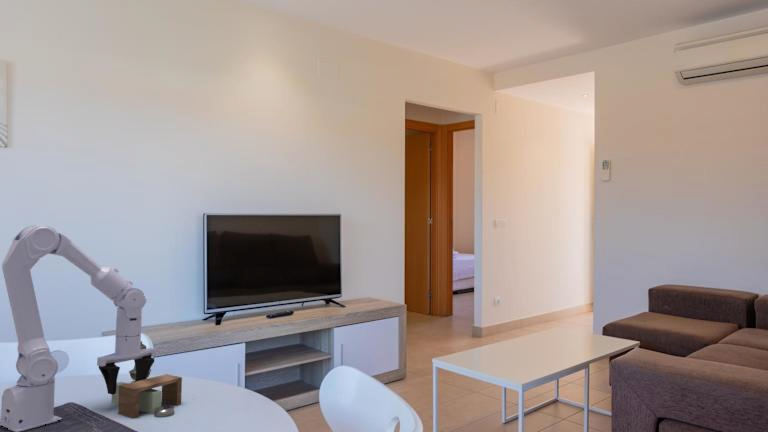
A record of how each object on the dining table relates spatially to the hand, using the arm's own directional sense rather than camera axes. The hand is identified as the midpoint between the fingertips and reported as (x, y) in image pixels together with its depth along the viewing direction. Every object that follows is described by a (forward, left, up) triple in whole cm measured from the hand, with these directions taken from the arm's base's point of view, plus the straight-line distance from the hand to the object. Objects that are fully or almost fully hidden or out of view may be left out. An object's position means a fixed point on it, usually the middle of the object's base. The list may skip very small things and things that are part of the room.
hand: (126, 390), depth 134 cm
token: (0, -14, -4) cm, 15 cm away
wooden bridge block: (+1, -8, -4) cm, 9 cm away
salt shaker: (+14, +15, -4) cm, 21 cm away
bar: (0, -4, -4) cm, 5 cm away
